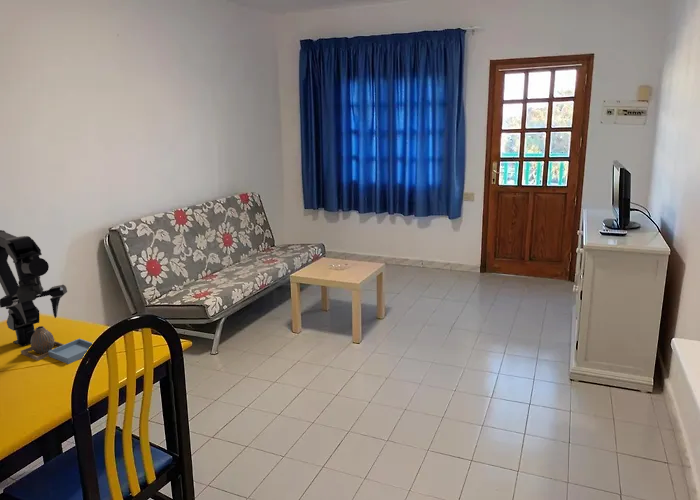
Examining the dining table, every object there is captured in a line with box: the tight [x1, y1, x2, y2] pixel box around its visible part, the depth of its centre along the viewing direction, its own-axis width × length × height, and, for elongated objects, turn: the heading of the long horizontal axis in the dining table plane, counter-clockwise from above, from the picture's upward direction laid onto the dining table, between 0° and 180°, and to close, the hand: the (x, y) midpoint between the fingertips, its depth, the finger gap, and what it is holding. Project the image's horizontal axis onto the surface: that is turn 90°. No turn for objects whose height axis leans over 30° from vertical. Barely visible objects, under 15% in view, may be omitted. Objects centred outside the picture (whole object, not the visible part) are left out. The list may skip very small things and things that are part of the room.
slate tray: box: [48, 337, 93, 365], centre depth 174 cm, size 11×11×2 cm
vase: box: [30, 325, 55, 355], centre depth 175 cm, size 7×7×9 cm
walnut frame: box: [20, 340, 65, 361], centre depth 176 cm, size 10×10×1 cm
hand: (40, 320), depth 172 cm, fingers open, 9 cm apart
